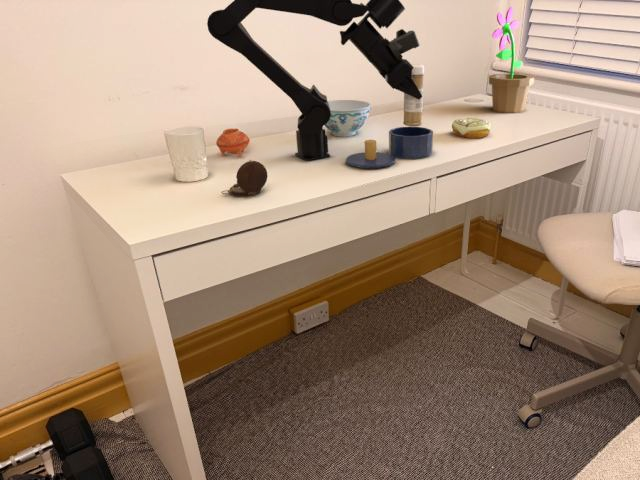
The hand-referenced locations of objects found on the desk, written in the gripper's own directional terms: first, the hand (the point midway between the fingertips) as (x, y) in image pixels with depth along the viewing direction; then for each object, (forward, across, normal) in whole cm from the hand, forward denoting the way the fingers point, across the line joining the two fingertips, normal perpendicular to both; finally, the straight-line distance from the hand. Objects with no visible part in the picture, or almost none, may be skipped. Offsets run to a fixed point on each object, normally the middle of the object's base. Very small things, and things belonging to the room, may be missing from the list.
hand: (419, 96), depth 130 cm
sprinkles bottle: (+4, 0, +6) cm, 7 cm away
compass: (-18, -26, +38) cm, 49 cm away
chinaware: (-2, +22, +21) cm, 31 cm away
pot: (-21, +4, +41) cm, 47 cm away
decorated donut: (+22, +16, -3) cm, 27 cm away
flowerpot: (+36, +48, -18) cm, 63 cm away
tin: (+8, -1, +11) cm, 13 cm away
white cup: (-26, -13, +46) cm, 55 cm away
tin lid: (0, -8, +18) cm, 19 cm away
